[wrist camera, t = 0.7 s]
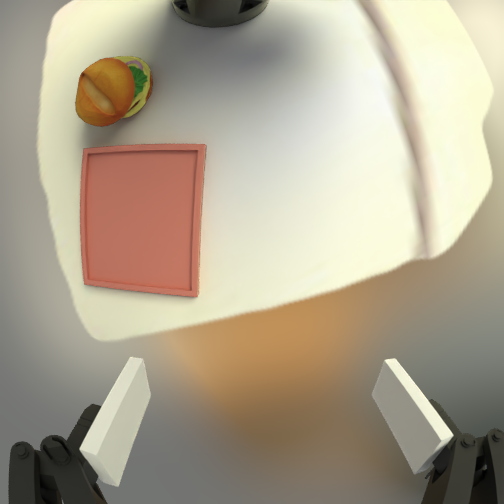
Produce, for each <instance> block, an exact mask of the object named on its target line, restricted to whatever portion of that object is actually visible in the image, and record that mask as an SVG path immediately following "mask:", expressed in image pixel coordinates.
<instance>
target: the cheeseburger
mask: <svg viewBox="0 0 504 504" xmlns="http://www.w3.org/2000/svg"><path fill="white" fill-rule="evenodd" d="M152 85H153V80H152V75H151V71H150V68H149V66H148V65H147V64H146V63H145V62H144V61H142V60H141V59H140V58H137V57H133V56H117V57H113V58H104V59H100V60H99V61H97V62H95V63H93V64H92V65H90V66H89V67H88V68H86V69H85V70H84V71H83V72H82V73H81V75H80V78H79V83H78V89H77V95H76V102H75V105H76V112H77V114H78V116H79V117H80V118H81V119H82V120H83V121H84V122H85V123H88V124H91V125H94V126H101V127H102V126H108V125H110V124H113V123H115V122H117V121H118V120H120V119H121V118H126V117H130V116H131V115H133V114H135V113H137V112H138V111H139V110H140V109H141V108H142V107H143V106H144V105H145V103H146V101H147V99H148V98H149V96H150V95H151V90H152Z"/></svg>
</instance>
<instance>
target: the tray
mask: <svg viewBox="0 0 504 504" xmlns="http://www.w3.org/2000/svg"><path fill="white" fill-rule="evenodd" d="M205 158H206V145H205V144H141V145H121V146H107V147H95V148H85V149H84V150H83V160H82V173H81V194H80V234H81V255H82V268H83V279H84V284H85V285H93V286H100V287H108V288H115V289H124V290H132V291H141V292H150V293H160V294H170V295H180V296H192V297H198V294H199V265H200V237H201V216H202V199H203V183H204V170H205Z"/></svg>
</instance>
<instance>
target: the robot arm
mask: <svg viewBox="0 0 504 504" xmlns="http://www.w3.org/2000/svg"><path fill="white" fill-rule="evenodd" d="M268 1H269V0H172V4H173V6H174V9H175V11H176V13H177V14H178V15H179V16H180V17H181V18H182V19H183V20H185V21H187V22H189V23H192V24H195V25H199V26H205V27H224V26H231V25H235V24H239V23H242V22H245V21H248V20H250V19H252V18H254V17H255V16H257V15H258V14H260V13H261V12H262V11H263V10H264V9H265V7H266V6H267V4H268ZM150 397H151V393H150V389H149V385H148V380H147V375H146V370H145V365H144V359H142V358H134V357H130V358H129V360H128V362H127V363H126V365H125V367H124V369H123V370H122V372H121V374H120V375H119V377H118V379H117V380H116V382H115V384H114V386H113V387H112V389H111V391H110V393H109V394H108V396H107V398H106V400H105V402H104V403H103V405H102V406H99V405H95V404H92V405H90V406H89V407H87V408H86V409H85V410H84V412H83V413H82V415H81V417H80V419H79V420H78V422H77V425H75V427H74V429H73V430H72V432H71V434H70V436H69V437H68V439H67V441H66V440H65V439H64V438H63V437H61V436H58V435H51V436H48V437H46V438H45V439H43V441H42V442H41V445H40V446H41V447H40V450H41V451H38V450H34V448H33V447H32V446H31V445H30V444H28V443H27V442H17V443H15V445H13V446H12V449H11V453H10V464H9V504H62V500H63V502H64V504H107V502H106V500H105V498H104V496H103V494H102V492H101V490H100V488H99V486H98V484H97V483H96V481H97V478H98V477H99V478H100V479H101V481H102V482H104V483H107V484H110V485H113V486H116V487H118V486H119V483H120V480H121V477H122V474H123V471H124V468H125V465H126V462H127V459H128V457H129V454H130V451H131V448H132V445H133V442H134V440H135V437H136V434H137V432H138V429H139V426H140V423H141V421H142V418H143V415H144V413H145V410H146V407H147V405H148V402H149V399H150ZM372 397H373V398H374V400H375V402H376V404H377V406H378V407H379V409H380V411H381V413H382V414H383V416H384V418H385V420H386V422H387V424H388V425H389V427H390V429H391V431H392V433H393V435H394V437H395V438H396V440H397V442H398V444H399V446H400V447H401V449H402V451H403V453H404V455H405V457H406V459H407V461H408V463H409V465H410V466H411V469H412V470H413V472H414V474H417V473H419V472H422V471H424V470H426V469H427V468H428V467H429V466H430V465H431V464H432V463H433V464H434V468H433V469H432V470H431V471H430V472H429V473H428V474H427V475H426V477H425V479H427V478H428V477H429V476H430V479H429V482H428V485H427V488H426V491H425V494H424V497H423V500H422V503H421V504H504V433H503V432H502V431H501V430H499V429H491V430H490V431H489V432H488V434H487V435H486V436H485V437H479V438H475V437H474V436H473V435H470V434H462V433H461V432H460V431H459V429H458V428H457V427H456V425H455V424H454V423H453V421H452V420H451V419H450V417H448V415H447V413H446V412H444V409H443V408H442V407H441V406H440V404H438V403H437V402H435V401H434V400H432V399H431V400H427V399H426V397H425V396H424V395H423V393H422V392H421V391H420V389H419V388H418V387H417V386H416V384H415V383H414V382H413V380H412V379H411V378H410V377H409V375H408V374H407V373H406V372H405V370H404V369H403V368H402V366H401V365H400V364H399V363H398V361H397V360H396V359H389V360H384V363H383V365H382V368H381V371H380V374H379V377H378V379H377V382H376V385H375V388H374V390H373V393H372ZM485 465H487V469H485ZM61 497H62V498H61Z"/></svg>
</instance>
